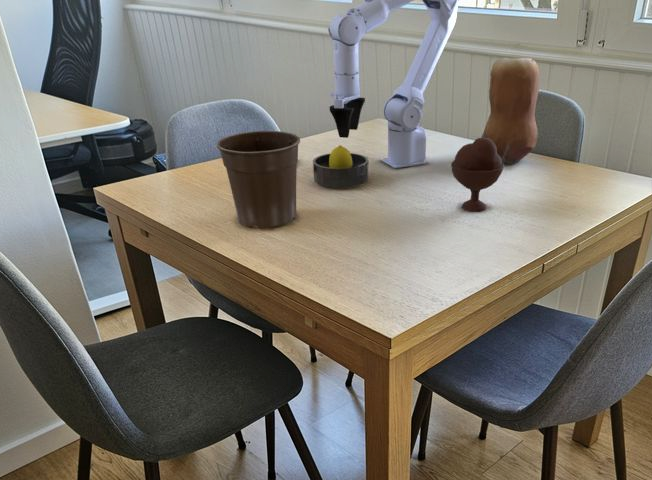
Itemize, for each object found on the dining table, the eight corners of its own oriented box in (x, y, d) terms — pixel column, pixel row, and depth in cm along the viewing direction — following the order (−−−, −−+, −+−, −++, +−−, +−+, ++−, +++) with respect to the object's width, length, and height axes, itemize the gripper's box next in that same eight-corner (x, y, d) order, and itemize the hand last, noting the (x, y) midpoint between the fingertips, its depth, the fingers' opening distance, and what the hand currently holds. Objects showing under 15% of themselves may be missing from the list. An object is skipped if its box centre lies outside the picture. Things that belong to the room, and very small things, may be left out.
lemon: (329, 175, 152) (327, 142, 148) (352, 175, 152) (351, 141, 148) (330, 183, 147) (328, 149, 143) (353, 182, 148) (352, 148, 143)
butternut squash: (500, 151, 170) (511, 51, 157) (543, 160, 163) (558, 56, 149) (470, 162, 162) (478, 57, 148) (514, 172, 154) (527, 63, 141)
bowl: (354, 169, 158) (353, 149, 155) (378, 184, 148) (377, 163, 145) (305, 177, 153) (304, 157, 150) (327, 193, 143) (326, 172, 140)
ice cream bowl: (502, 201, 137) (510, 131, 129) (494, 219, 129) (501, 146, 120) (455, 196, 140) (460, 128, 132) (444, 213, 131) (448, 141, 123)
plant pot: (214, 216, 131) (202, 138, 123) (280, 199, 140) (273, 125, 131) (251, 240, 121) (240, 157, 112) (320, 220, 129) (315, 141, 120)
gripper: (339, 67, 151) (341, 125, 158) (320, 78, 139) (323, 139, 146) (367, 68, 149) (368, 126, 156) (350, 79, 137) (351, 141, 145)
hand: (348, 133), depth 151 cm, fingers open, 7 cm apart
